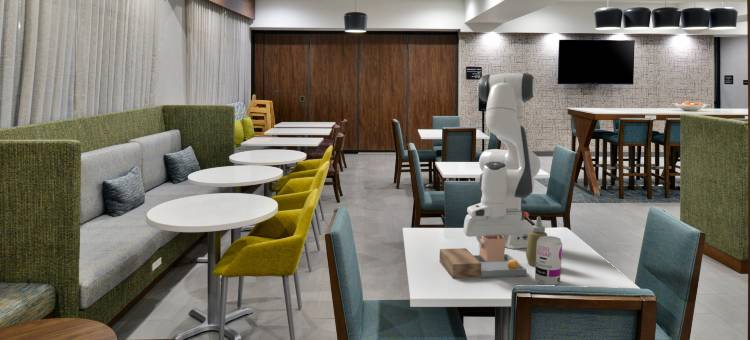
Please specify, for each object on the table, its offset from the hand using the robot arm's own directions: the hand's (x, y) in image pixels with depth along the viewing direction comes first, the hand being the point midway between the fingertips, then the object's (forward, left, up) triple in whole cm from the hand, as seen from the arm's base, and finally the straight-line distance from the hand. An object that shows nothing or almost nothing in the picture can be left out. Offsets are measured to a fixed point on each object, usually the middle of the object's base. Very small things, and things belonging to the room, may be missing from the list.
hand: (492, 247), depth 201 cm
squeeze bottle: (-20, -7, -9) cm, 23 cm away
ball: (-8, 0, -7) cm, 10 cm away
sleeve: (0, 0, -4) cm, 4 cm away
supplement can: (-16, +11, -9) cm, 22 cm away
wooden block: (+10, -5, -9) cm, 14 cm away
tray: (-3, -4, -9) cm, 10 cm away
